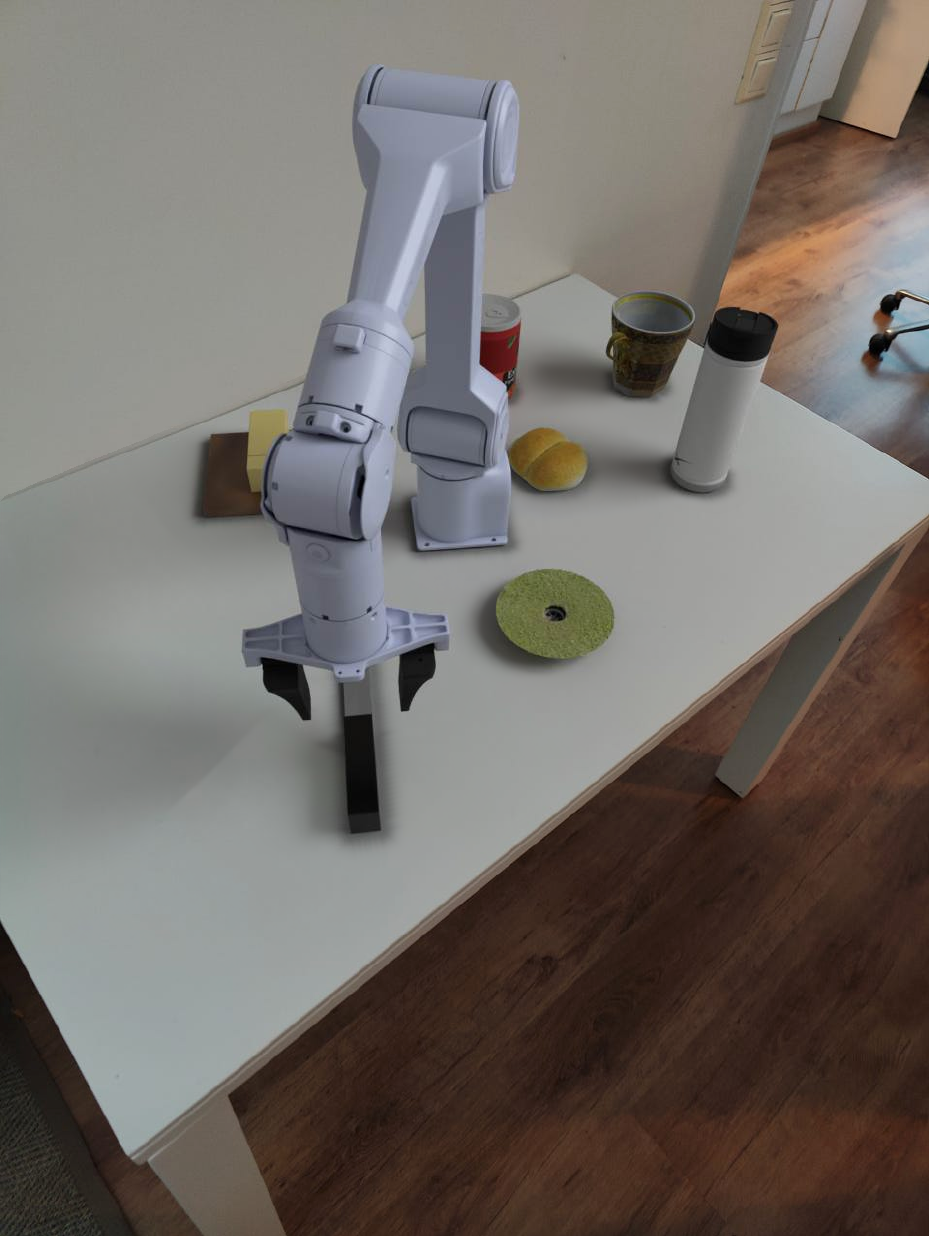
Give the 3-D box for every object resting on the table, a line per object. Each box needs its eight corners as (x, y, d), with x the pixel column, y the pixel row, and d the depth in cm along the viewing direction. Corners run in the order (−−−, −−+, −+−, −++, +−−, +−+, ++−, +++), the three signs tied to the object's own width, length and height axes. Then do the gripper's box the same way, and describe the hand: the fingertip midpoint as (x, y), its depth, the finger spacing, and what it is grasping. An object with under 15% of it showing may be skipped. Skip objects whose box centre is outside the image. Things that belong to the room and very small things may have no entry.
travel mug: (663, 486, 93) (708, 323, 78) (676, 452, 97) (721, 292, 82) (718, 501, 91) (775, 338, 76) (729, 466, 95) (785, 305, 80)
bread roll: (551, 505, 90) (555, 476, 87) (496, 464, 94) (498, 435, 91) (602, 474, 94) (608, 446, 91) (547, 436, 98) (551, 408, 95)
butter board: (333, 435, 97) (332, 427, 96) (337, 509, 89) (336, 500, 88) (212, 442, 95) (210, 433, 95) (204, 517, 87) (202, 509, 86)
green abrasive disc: (470, 628, 78) (471, 614, 77) (540, 565, 84) (542, 551, 83) (566, 691, 74) (569, 678, 72) (633, 620, 80) (637, 607, 78)
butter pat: (289, 476, 90) (285, 453, 88) (289, 490, 89) (285, 466, 86) (252, 479, 90) (247, 455, 87) (251, 492, 88) (246, 469, 86)
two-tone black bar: (381, 831, 65) (379, 812, 62) (350, 834, 64) (347, 815, 62) (367, 643, 77) (365, 621, 74) (341, 645, 76) (338, 623, 74)
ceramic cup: (632, 353, 111) (647, 282, 103) (692, 386, 106) (712, 314, 98) (567, 389, 105) (578, 316, 97) (627, 425, 100) (643, 352, 92)
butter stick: (289, 431, 95) (285, 408, 93) (289, 476, 90) (285, 453, 88) (254, 433, 95) (249, 410, 92) (252, 478, 90) (247, 455, 87)
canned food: (515, 409, 101) (522, 328, 93) (450, 407, 101) (452, 325, 93) (513, 374, 106) (520, 294, 98) (452, 372, 106) (454, 291, 98)
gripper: (227, 644, 51) (261, 758, 62) (457, 626, 53) (452, 739, 63) (232, 564, 56) (263, 682, 66) (444, 549, 57) (442, 666, 68)
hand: (355, 705), depth 65 cm, fingers open, 7 cm apart
